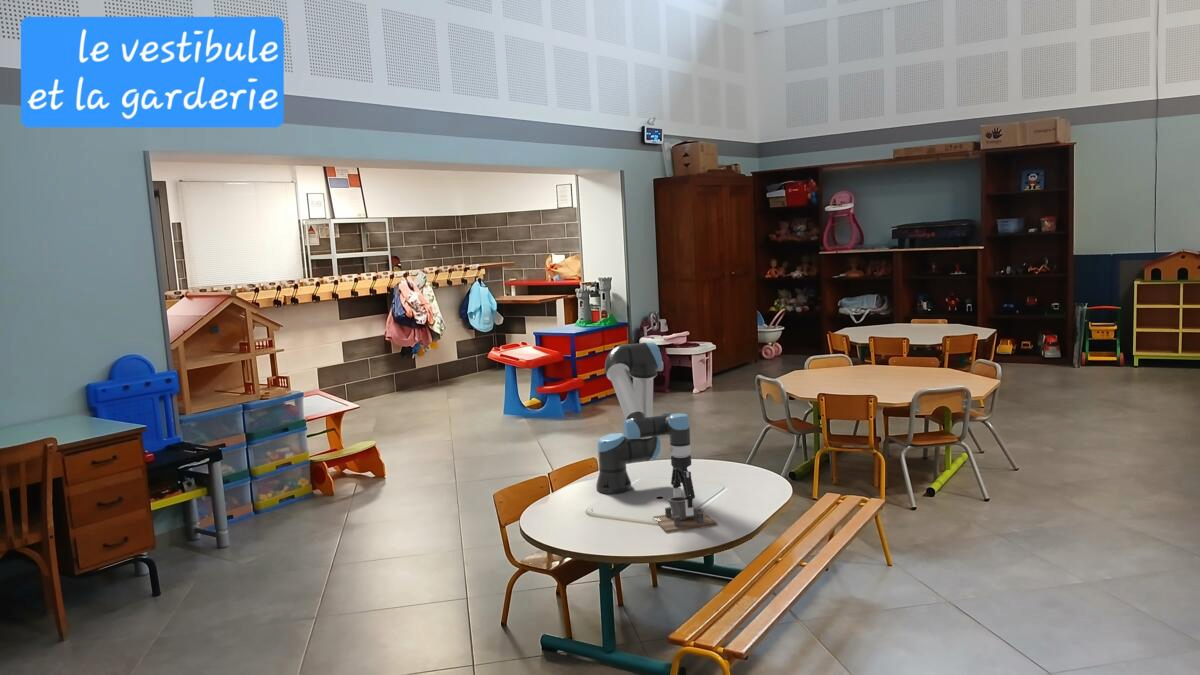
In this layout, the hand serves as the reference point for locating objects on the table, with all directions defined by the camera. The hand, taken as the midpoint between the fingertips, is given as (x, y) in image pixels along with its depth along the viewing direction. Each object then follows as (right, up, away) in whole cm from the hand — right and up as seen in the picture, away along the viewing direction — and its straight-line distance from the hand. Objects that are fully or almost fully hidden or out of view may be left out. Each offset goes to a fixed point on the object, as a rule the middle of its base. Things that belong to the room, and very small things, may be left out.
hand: (683, 509), depth 324 cm
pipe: (+1, -4, +1) cm, 4 cm away
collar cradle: (0, -5, +1) cm, 5 cm away
